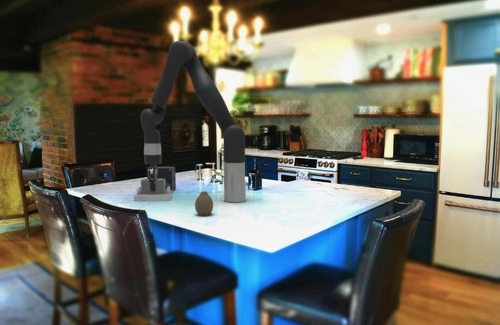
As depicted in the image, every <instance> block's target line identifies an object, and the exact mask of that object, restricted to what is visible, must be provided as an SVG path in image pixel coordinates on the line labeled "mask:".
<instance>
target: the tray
mask: <svg viewBox="0 0 500 325" xmlns="http://www.w3.org/2000/svg"><path fill="white" fill-rule="evenodd" d="M172 198H173V191H172V190H170V186H167V191H165V193H164V194H141V186H138V187H137V188H136V194H134V195H133V202H150V201H151V202H159V201H172Z"/></svg>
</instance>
